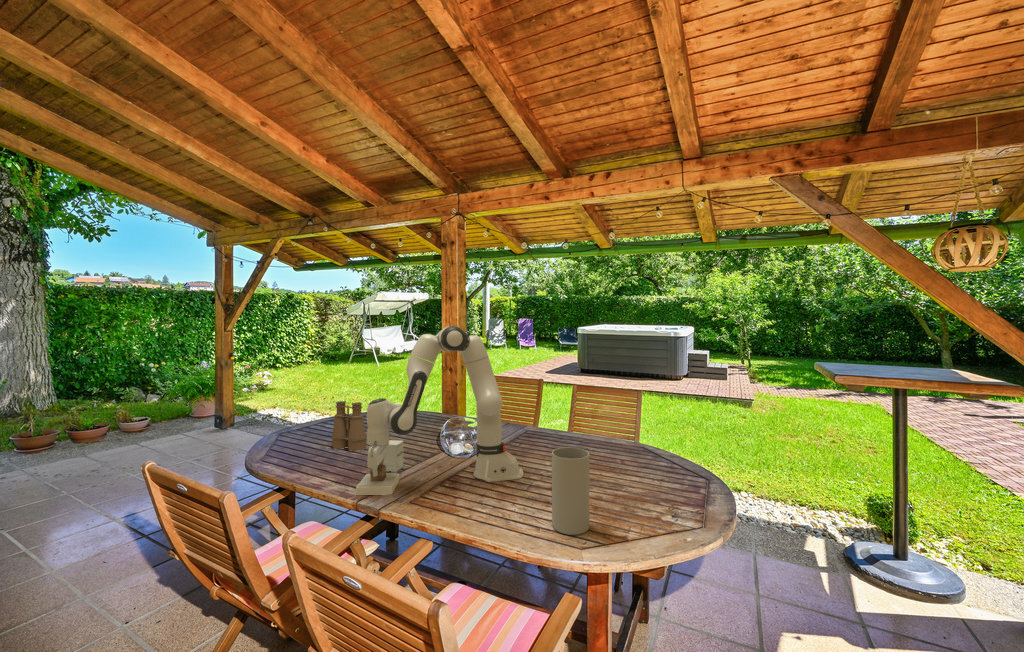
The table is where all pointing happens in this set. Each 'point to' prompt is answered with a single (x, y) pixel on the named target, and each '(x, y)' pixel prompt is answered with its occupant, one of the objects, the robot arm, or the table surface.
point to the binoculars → (349, 427)
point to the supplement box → (394, 456)
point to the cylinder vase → (570, 490)
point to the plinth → (377, 485)
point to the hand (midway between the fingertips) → (378, 471)
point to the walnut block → (379, 473)
